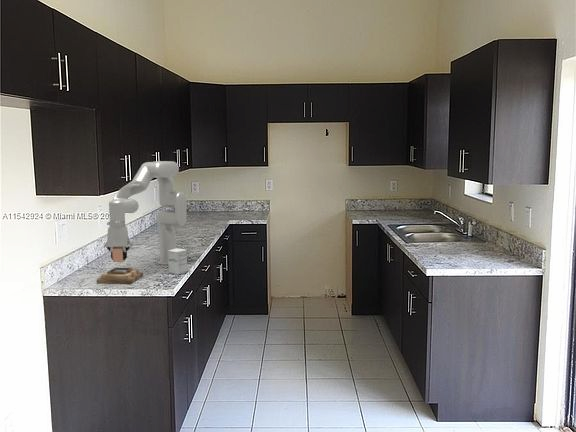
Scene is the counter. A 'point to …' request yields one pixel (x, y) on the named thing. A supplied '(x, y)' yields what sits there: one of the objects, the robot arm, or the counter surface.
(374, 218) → the counter surface
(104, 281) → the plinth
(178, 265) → the supplement box
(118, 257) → the pillar block
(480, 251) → the counter surface
